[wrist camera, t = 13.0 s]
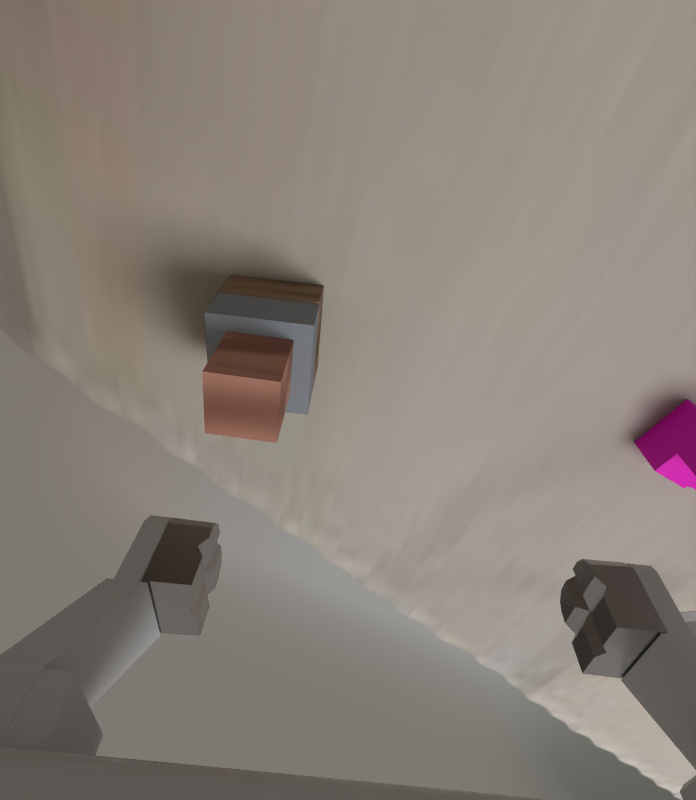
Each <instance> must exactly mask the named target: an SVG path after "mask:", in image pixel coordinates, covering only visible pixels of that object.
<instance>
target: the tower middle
mask: <svg viewBox="0 0 696 800" xmlns="http://www.w3.org/2000/svg"><path fill="white" fill-rule="evenodd" d="M204 313H205V329H206V344H207V360H208V361H209V360H210V358H211V356H212V355H213V353H214V351H215V350H216V348H217V346H218V345H219V343H220V341H221V340H222V338H223V336H224V334H225V333H226V331H232V332H239V333H246V334H253V335H260V336H267V337H274V338H281V339H288V340H294V345H293V358H292V370H291V383H290V395H289V399H288V403H287V407H286V411H285V412H290V413H299V414H308V410H309V405H310V400H311V395H312V391H313V381H314V368H315V356H316V343H317V331H318V318H319V304H311V303H303V302H295V301H286V300H278V299H270V298H261V297H253V296H245V295H237V294H228V293H220V292H219V294H218V295H217V296H216V298H215V299H214V300H213V302H212V303H211V304H210V306H209V307H208V308H207V310H206V311H205V312H204Z"/></svg>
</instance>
